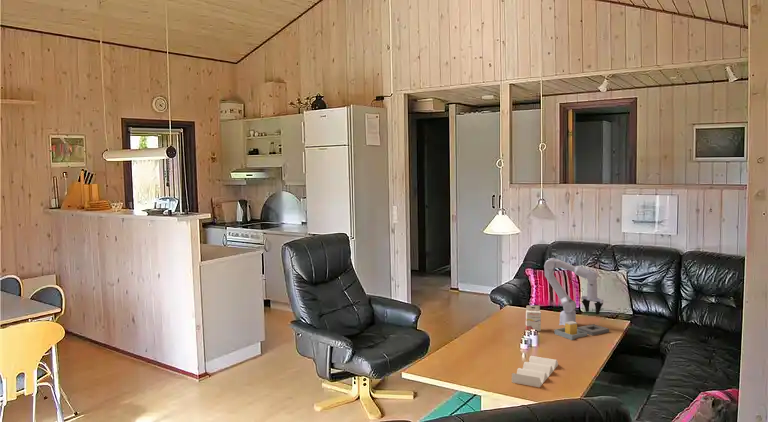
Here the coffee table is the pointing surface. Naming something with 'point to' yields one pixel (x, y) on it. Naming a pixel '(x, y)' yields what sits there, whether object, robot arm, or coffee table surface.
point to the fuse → (571, 327)
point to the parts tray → (572, 337)
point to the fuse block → (593, 329)
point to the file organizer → (534, 371)
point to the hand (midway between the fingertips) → (592, 312)
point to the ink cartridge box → (533, 318)
